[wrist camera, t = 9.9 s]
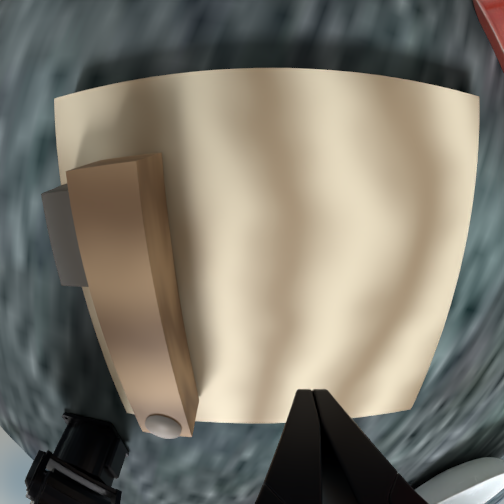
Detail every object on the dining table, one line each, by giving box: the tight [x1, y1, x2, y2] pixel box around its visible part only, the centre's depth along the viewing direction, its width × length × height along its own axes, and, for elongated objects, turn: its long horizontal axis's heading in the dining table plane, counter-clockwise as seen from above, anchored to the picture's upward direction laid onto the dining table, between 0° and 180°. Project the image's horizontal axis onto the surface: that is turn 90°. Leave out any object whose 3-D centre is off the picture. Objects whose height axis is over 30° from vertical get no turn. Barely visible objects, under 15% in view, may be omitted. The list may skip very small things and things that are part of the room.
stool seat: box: [41, 68, 479, 423], centre depth 17 cm, size 24×24×5 cm
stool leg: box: [66, 152, 199, 439], centre depth 17 cm, size 17×4×4 cm, turn 2°
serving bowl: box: [415, 457, 504, 504], centre depth 30 cm, size 21×21×7 cm
